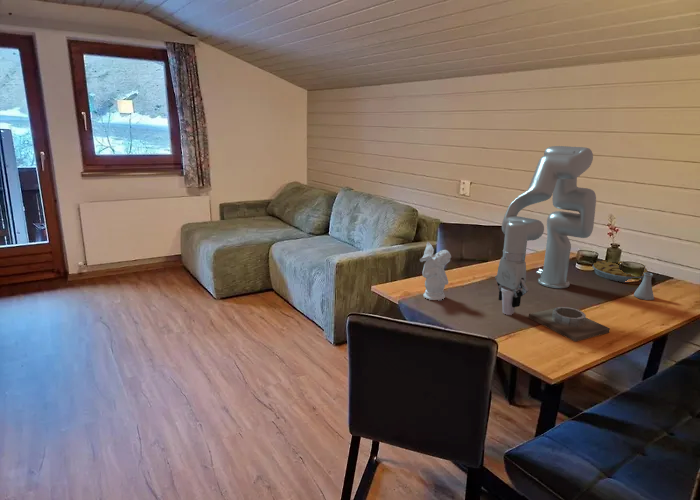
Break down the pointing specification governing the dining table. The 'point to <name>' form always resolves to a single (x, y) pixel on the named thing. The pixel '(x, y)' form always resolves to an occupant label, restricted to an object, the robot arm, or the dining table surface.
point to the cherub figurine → (435, 272)
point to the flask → (645, 288)
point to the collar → (560, 317)
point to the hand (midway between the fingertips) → (509, 302)
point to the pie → (613, 271)
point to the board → (572, 333)
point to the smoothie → (507, 300)
